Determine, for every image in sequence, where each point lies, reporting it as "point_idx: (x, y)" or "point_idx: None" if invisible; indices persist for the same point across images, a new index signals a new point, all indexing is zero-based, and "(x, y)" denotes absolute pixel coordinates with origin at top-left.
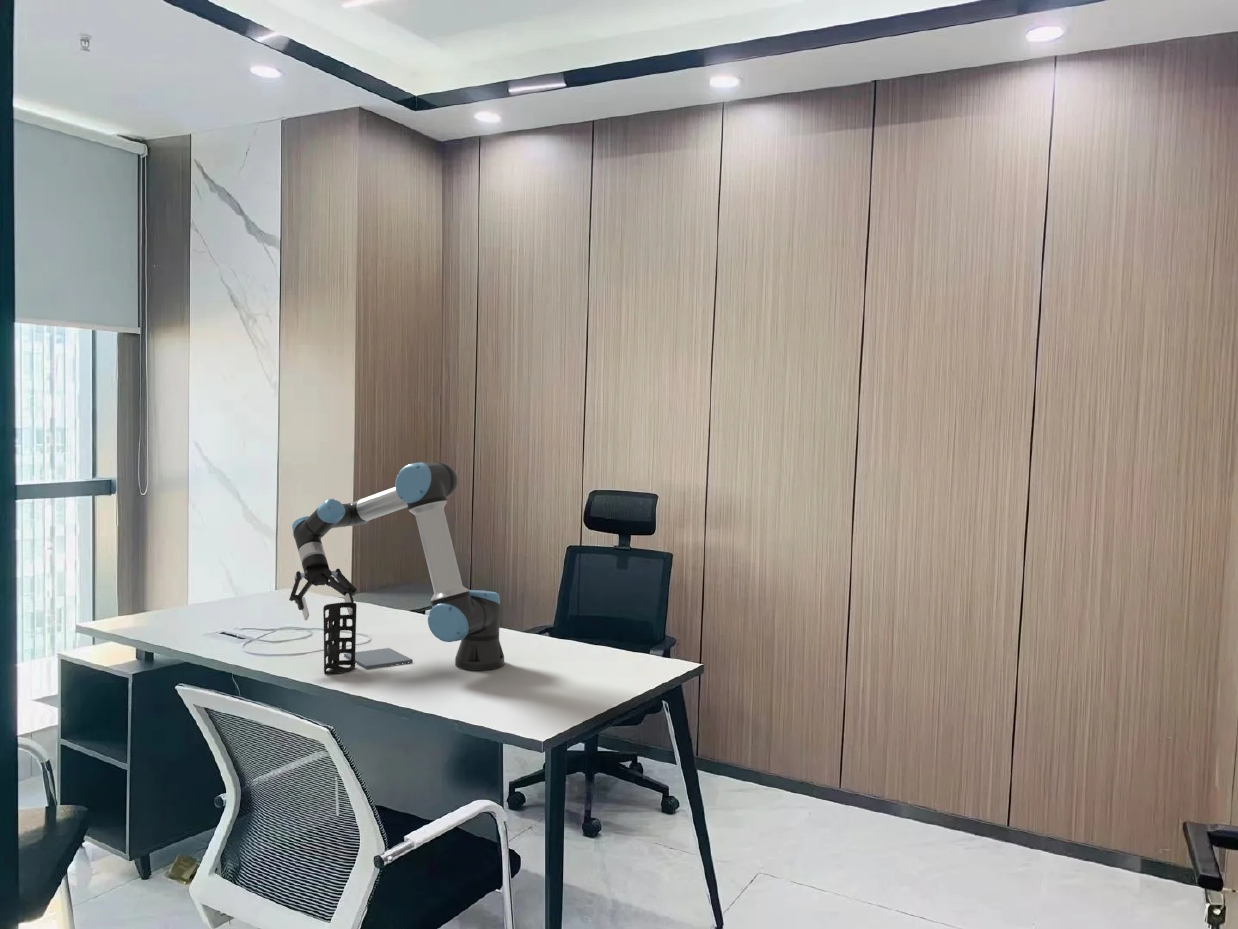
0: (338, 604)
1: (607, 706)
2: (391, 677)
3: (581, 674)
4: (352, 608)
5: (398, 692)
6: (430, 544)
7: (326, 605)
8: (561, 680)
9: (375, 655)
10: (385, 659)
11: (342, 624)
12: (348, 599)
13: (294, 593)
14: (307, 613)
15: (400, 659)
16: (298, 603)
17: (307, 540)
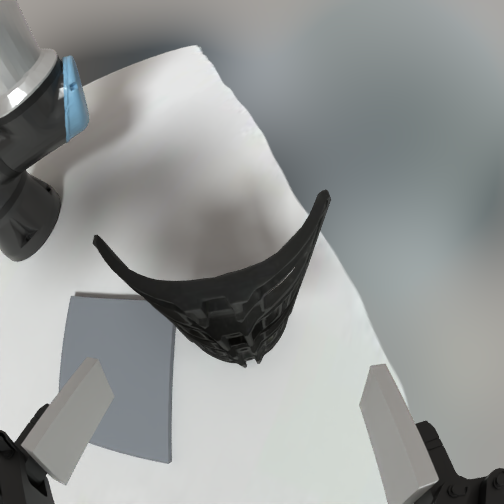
0: (181, 285)
1: (101, 78)
2: (168, 215)
3: None
4: (120, 261)
5: (212, 139)
6: None
7: (298, 232)
8: None
9: None
10: (107, 334)
11: (188, 330)
12: (54, 414)
13: (494, 494)
14: (383, 373)
15: (85, 312)
16: (441, 455)
17: None
